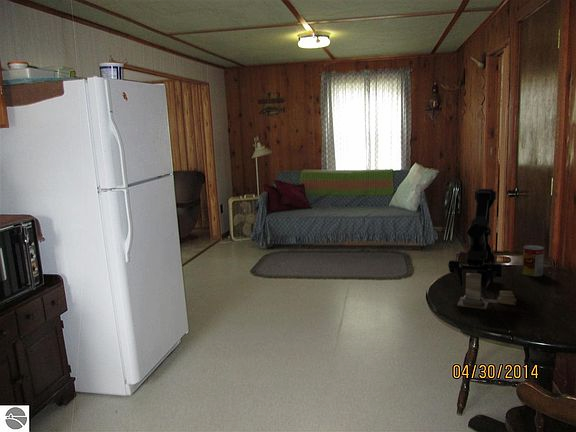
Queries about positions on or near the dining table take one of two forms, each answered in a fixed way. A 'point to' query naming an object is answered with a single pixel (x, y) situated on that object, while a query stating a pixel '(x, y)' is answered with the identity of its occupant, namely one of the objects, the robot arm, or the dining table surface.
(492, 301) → the rack
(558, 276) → the dining table surface
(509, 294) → the upper offcut
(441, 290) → the dining table surface
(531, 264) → the canned food
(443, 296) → the dining table surface
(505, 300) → the lower offcut
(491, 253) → the robot arm
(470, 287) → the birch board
